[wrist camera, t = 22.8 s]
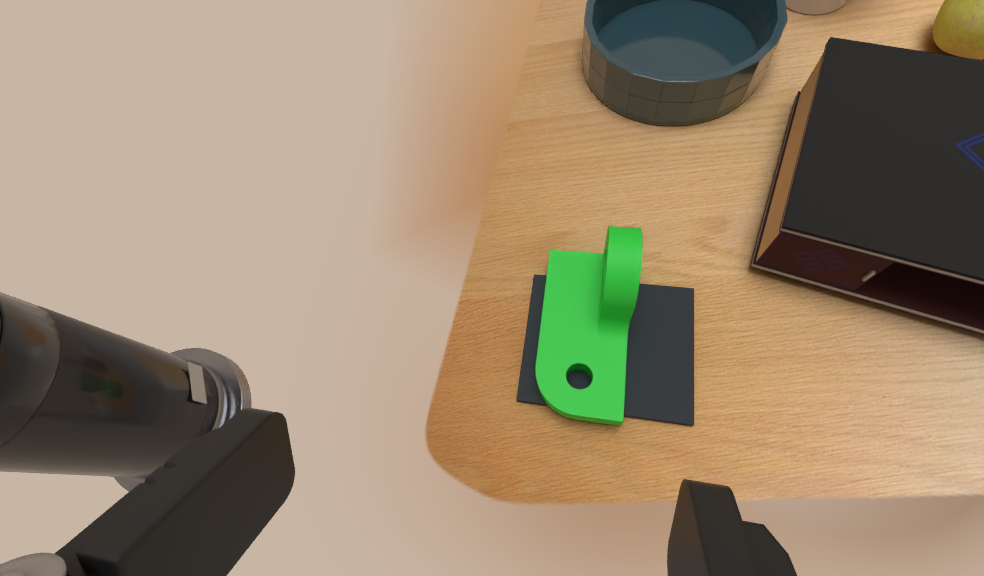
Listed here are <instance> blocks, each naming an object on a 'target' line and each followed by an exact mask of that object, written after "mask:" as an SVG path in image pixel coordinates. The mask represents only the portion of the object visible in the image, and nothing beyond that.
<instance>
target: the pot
mask: <svg viewBox="0 0 984 576" xmlns="http://www.w3.org/2000/svg"><path fill="white" fill-rule="evenodd" d="M786 23H787V11H786V2H785V0H588V1H587V3H586V11H585V19H584V36H583V59H582V64H583V69H584V75H585V78H586V81H587V83H588V85H589V87H590V89H591V90H592V92H593V93H594V94H595V96H596V97H597V98H598V99H599V100H600V101H601V102H602V103H603V104H605V105H606V106H607V107H609V108H610V109H611V110H613V111H615V112H617V113H619V114H620V115H622V116H625V117H627V118H630V119H632V120H635V121H639V122H642V123H647V124H653V125H661V126H684V125H692V124H697V123H702V122H706V121H709V120H712V119H715V118H718V117H720V116H722V115H724V114H726V113H728V112H730V111H732V110H733V109H735V108H736V107H738V106H739V105H740V104H742V103H743V102H744V101H745V100H746V99H747V98H748V97H749V96H750V95H751V94H752V93H753V91H754V90H755V88H756V87H757V85H758V84H759V83H760V81H761V79H762V76H763V74H764V72H765V70H766V68H767V66H768V64H769V62H770V60H771V57H772V55H773V53H774V51H775V49H776V47H777V45H778V43H779V40H780V38H781V35H782V33H783V30H784V28H785V25H786Z"/></svg>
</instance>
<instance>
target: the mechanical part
mask: <svg viewBox="0 0 984 576" xmlns="http://www.w3.org/2000/svg"><path fill="white" fill-rule="evenodd" d="M642 243H643V242H642V230H641V228H630V227H614V226H608V231H607V237H606V243H605V249H604V254H600V253H587V252H573V251H559V250H550V254H549V262H548V270H547V278H546V286H545V294H544V303H543V311H542V319H541V327H540V335H539V343H538V351H537V359H536V369H535V370H536V379H537V384H538V388H539V391H540V393H541V395H542V397H543V399H544V401H545V402H546V403H547V405H548V406H549V407H550V408H551V409H553V410H554V411H555V412H557V413H558V414H560V415H562V416H564V417H566V418H570V419H574V420H581V421H588V422H595V423H603V424H610V425H617V426H620V425H621V424H622V423H623V418H624V398H625V377H626V357H627V338H628V329H629V323H630V320H631V317H632V314H633V312H634V309H635V305H636V301H637V296H638V290H639V283H640V274H641V264H642ZM575 370H581V371H584V372H586V373H587V374H588V375H589V376H590V378H591V384H590V386H588V387H587V388H585V389H575V388H573V387H571V386H570V385H569V384H568V382H567V380H566V378H567V376H568V375H569V373H571V372H572V371H575Z"/></svg>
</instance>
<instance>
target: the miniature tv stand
mask: <svg viewBox="0 0 984 576" xmlns="http://www.w3.org/2000/svg"><path fill="white" fill-rule="evenodd" d="M750 267H752V268H756V269H759V270H763V271H766V272H769V273H773V274H776V275H780V276H783V277H787V278H790V279H794V280H797V281H801V282H804V283H807V284H811V285H814V286H818V287H821V288H825V289H828V290H832V291H835V292H838V293H842V294H845V295H849V296H852V297H856V298H859V299H863V300H866V301H870V302H873V303H876V304H880V305H883V306H887V307H890V308H894V309H897V310H901V311H904V312H908V313H911V314H914V315H918V316H921V317H925V318H928V319H932V320H935V321H939V322H942V323H945V324H949V325H952V326H956V327H959V328H963V329H966V330H970V331H973V332H977V333H980V334H983V335H984V61H981V60H975V59H968V58H962V57H956V56H949V55H943V54H936V53H930V52H923V51H917V50H910V49H904V48H897V47H891V46H885V45H878V44H872V43H865V42H859V41H852V40H846V39H839V38H833V37H830V39H829V40H828V43H826V46H825V50H824V53H823V55H822V56H821V58H820V60H819V62H818V63H817V65H816V67H815V68H814V70H813V72H812V74H811V75H810V77H809V79H808V80H807V82H806V84H805V85H804V87H803V89H802V91H801V92H799V91H798V94H797V96H796V97H795V101H794V104H793V108H792V112H791V116H790V119H789V123H788V127H787V130H786V134H785V138H784V142H783V145H782V149H781V153H780V157H779V160H778V164H777V168H776V171H775V175H774V179H773V183H772V186H771V190H770V194H769V198H768V201H767V205H766V209H765V212H764V216H763V220H762V224H761V227H760V231H759V235H758V239H757V242H756V246H755V250H754V254H753V257H752V261H751V265H750Z"/></svg>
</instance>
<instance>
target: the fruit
mask: <svg viewBox="0 0 984 576" xmlns="http://www.w3.org/2000/svg"><path fill="white" fill-rule="evenodd" d="M933 38H934V42H935V44H936V45H937V46H938V47H939V48H940V49H941V50H943V51H944V52H947V53H949V54H952V55H954V56H959V57H962V58H968V59H984V0H945V1H944V3H943V4H942V6H941V8H940V10H939V12H938V15H937V17H936V20H935V23H934V27H933Z"/></svg>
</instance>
